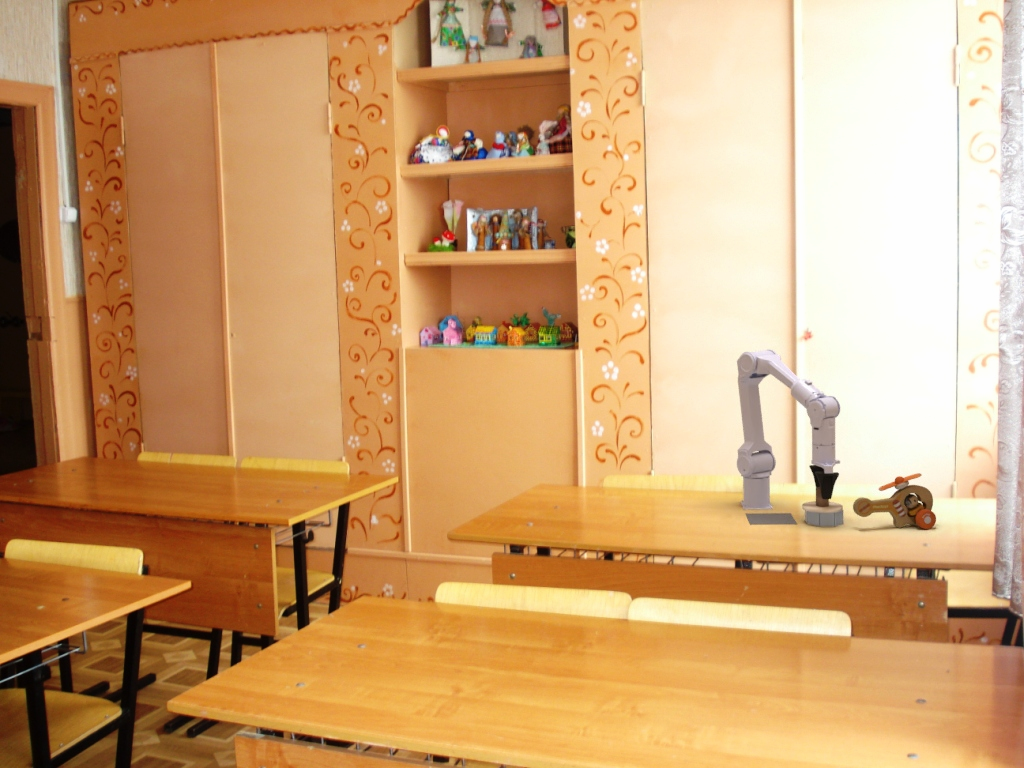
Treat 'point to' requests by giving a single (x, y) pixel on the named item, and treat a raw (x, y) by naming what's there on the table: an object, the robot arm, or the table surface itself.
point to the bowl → (824, 519)
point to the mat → (770, 518)
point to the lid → (822, 505)
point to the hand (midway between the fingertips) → (823, 495)
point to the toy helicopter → (901, 504)
